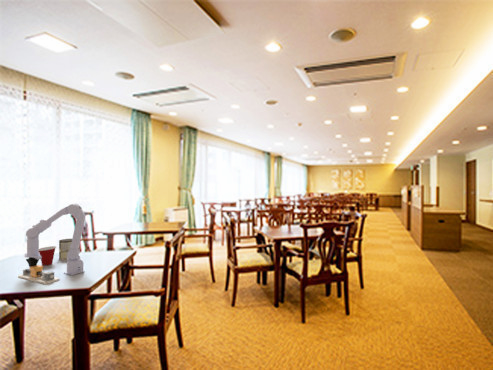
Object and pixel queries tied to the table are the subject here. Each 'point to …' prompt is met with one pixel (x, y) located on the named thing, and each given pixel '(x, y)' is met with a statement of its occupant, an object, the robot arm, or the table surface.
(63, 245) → the coffee can
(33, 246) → the robot arm
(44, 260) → the plastic cup
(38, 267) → the marker sleeve
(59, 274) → the table surface
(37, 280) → the cord board
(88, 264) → the table surface
